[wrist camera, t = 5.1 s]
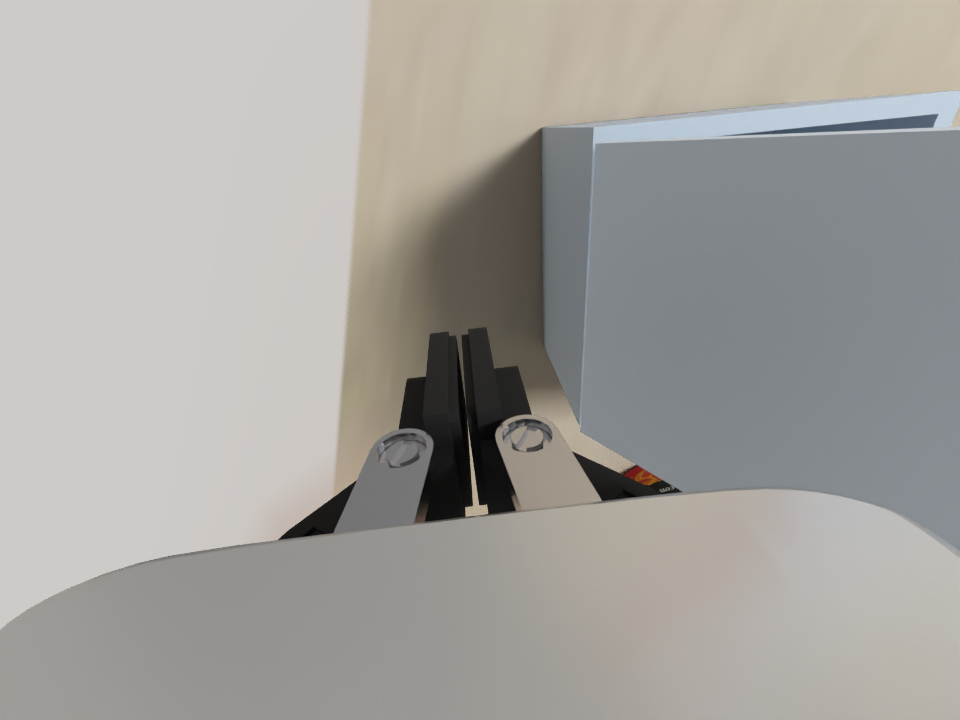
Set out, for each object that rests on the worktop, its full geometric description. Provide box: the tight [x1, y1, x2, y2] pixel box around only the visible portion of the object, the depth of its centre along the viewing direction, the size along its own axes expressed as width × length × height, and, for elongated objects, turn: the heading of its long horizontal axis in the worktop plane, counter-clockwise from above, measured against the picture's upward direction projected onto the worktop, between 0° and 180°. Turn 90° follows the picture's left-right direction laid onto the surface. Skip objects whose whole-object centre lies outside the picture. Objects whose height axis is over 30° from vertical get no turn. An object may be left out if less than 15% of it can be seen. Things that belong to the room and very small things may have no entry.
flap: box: [580, 127, 960, 551], centre depth 11 cm, size 12×11×1 cm
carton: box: [542, 90, 960, 425], centre depth 19 cm, size 12×12×8 cm
